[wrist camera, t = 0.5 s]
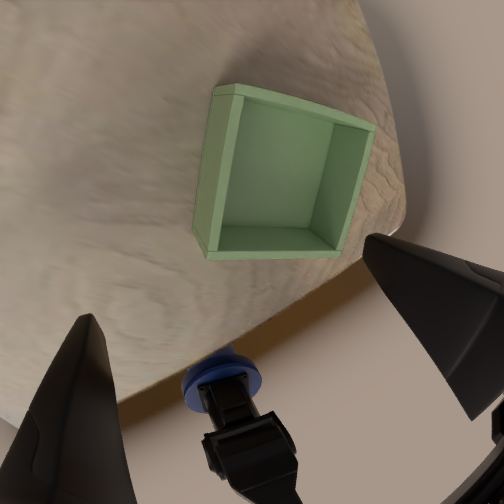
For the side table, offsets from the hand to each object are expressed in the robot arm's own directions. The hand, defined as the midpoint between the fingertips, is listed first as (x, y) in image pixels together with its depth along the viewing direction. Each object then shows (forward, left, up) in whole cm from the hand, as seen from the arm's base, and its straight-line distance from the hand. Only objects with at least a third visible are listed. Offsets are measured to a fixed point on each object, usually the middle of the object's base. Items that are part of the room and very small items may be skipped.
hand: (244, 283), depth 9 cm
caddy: (-1, -8, -15) cm, 17 cm away
